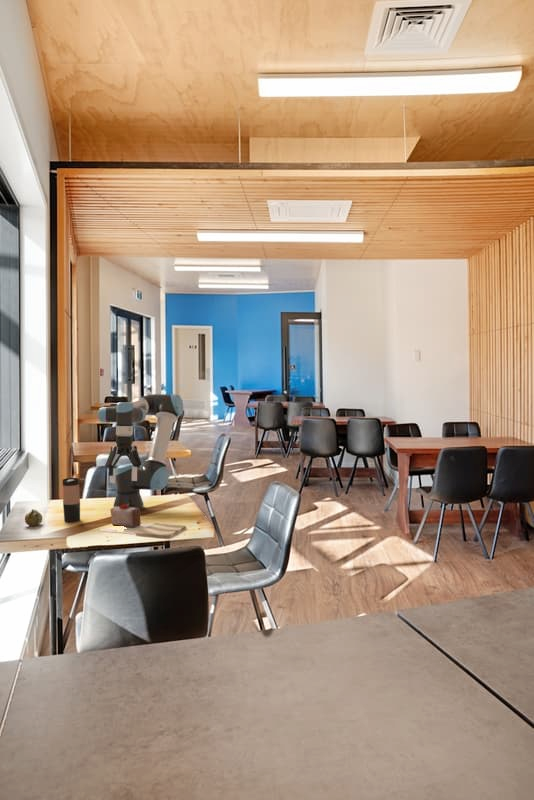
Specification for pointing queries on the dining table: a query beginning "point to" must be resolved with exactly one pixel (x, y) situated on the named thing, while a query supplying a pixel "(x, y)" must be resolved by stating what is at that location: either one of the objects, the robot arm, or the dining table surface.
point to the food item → (125, 516)
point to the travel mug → (71, 500)
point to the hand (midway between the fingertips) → (123, 481)
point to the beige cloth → (161, 530)
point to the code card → (128, 529)
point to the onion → (33, 518)
